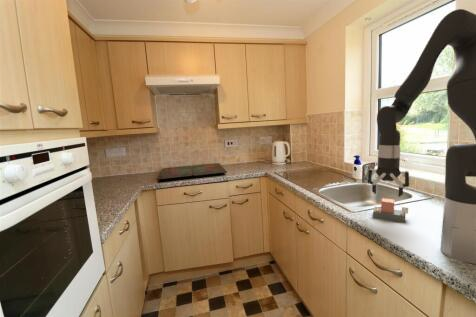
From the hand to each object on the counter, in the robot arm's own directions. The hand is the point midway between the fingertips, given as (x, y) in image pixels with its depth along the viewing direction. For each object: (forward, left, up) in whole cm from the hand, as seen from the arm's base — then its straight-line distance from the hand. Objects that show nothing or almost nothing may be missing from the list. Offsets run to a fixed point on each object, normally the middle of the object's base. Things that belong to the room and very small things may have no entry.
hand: (386, 194), depth 97 cm
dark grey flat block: (0, -1, -10) cm, 10 cm away
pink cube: (+1, 0, -7) cm, 7 cm away
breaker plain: (+1, -6, -7) cm, 9 cm away
